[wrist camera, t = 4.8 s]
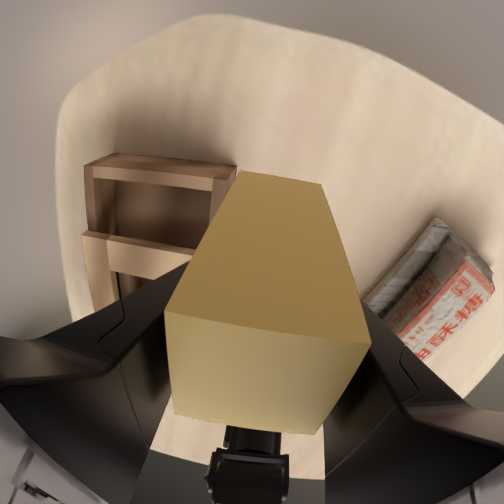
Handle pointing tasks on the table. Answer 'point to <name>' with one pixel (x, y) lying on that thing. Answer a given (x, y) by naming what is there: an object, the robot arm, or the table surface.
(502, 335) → the table surface
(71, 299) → the table surface
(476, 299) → the packaged product
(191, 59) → the table surface
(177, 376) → the yellow rectangular block
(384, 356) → the robot arm
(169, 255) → the lid
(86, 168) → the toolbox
